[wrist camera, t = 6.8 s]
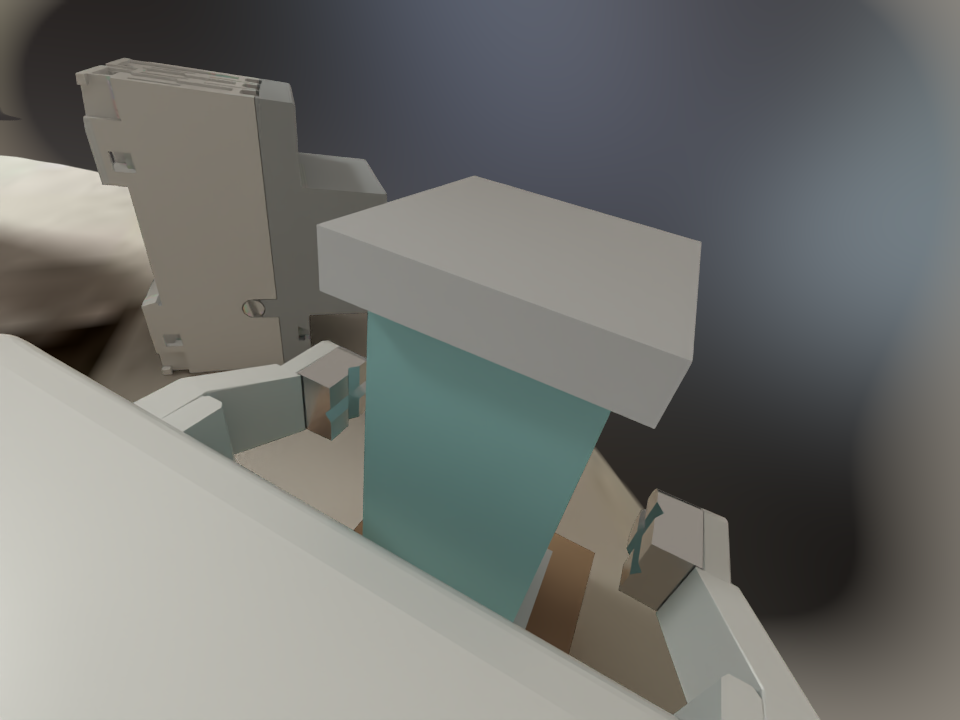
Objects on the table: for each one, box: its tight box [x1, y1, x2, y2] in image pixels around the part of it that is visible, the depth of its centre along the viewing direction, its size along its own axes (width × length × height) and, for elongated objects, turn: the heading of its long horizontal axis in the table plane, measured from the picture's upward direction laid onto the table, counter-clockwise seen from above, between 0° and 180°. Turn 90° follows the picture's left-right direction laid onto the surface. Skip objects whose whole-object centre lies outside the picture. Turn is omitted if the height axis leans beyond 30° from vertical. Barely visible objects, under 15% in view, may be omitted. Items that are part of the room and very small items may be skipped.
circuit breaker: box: [75, 58, 387, 375], centre depth 26 cm, size 8×14×15 cm, turn 111°
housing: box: [317, 176, 701, 629], centre depth 11 cm, size 5×5×12 cm
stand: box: [354, 520, 595, 655], centre depth 15 cm, size 8×8×4 cm
